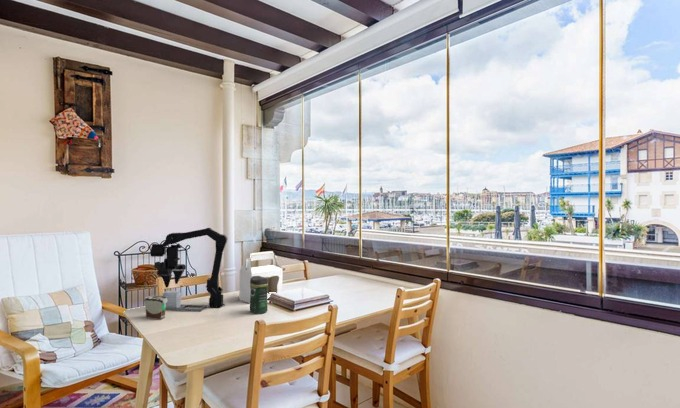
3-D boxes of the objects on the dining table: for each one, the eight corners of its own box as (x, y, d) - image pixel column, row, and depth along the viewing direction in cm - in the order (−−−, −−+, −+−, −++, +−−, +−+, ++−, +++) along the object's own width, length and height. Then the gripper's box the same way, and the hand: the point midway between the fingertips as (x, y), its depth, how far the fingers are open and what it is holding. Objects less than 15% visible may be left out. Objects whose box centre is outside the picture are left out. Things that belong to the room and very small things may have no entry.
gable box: (250, 304, 206) (251, 254, 206) (238, 299, 215) (239, 252, 215) (282, 297, 222) (283, 251, 222) (270, 293, 231) (270, 249, 231)
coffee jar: (269, 312, 190) (270, 276, 190) (256, 315, 185) (256, 278, 185) (260, 308, 197) (261, 274, 197) (247, 311, 192) (247, 275, 192)
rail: (207, 307, 198) (207, 305, 198) (200, 311, 190) (200, 309, 190) (164, 306, 200) (164, 303, 200) (156, 310, 192) (156, 307, 192)
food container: (173, 316, 181) (173, 296, 181) (163, 320, 175) (163, 299, 175) (153, 313, 185) (154, 294, 185) (143, 317, 179) (144, 297, 179)
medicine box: (180, 307, 197) (181, 291, 197) (176, 309, 193) (176, 293, 193) (167, 306, 198) (167, 290, 198) (162, 308, 193) (162, 292, 193)
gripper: (167, 253, 205) (167, 281, 205) (147, 258, 187) (146, 288, 187) (186, 254, 204) (186, 282, 204) (168, 258, 186) (167, 289, 186)
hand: (171, 285), depth 195 cm, fingers open, 9 cm apart
